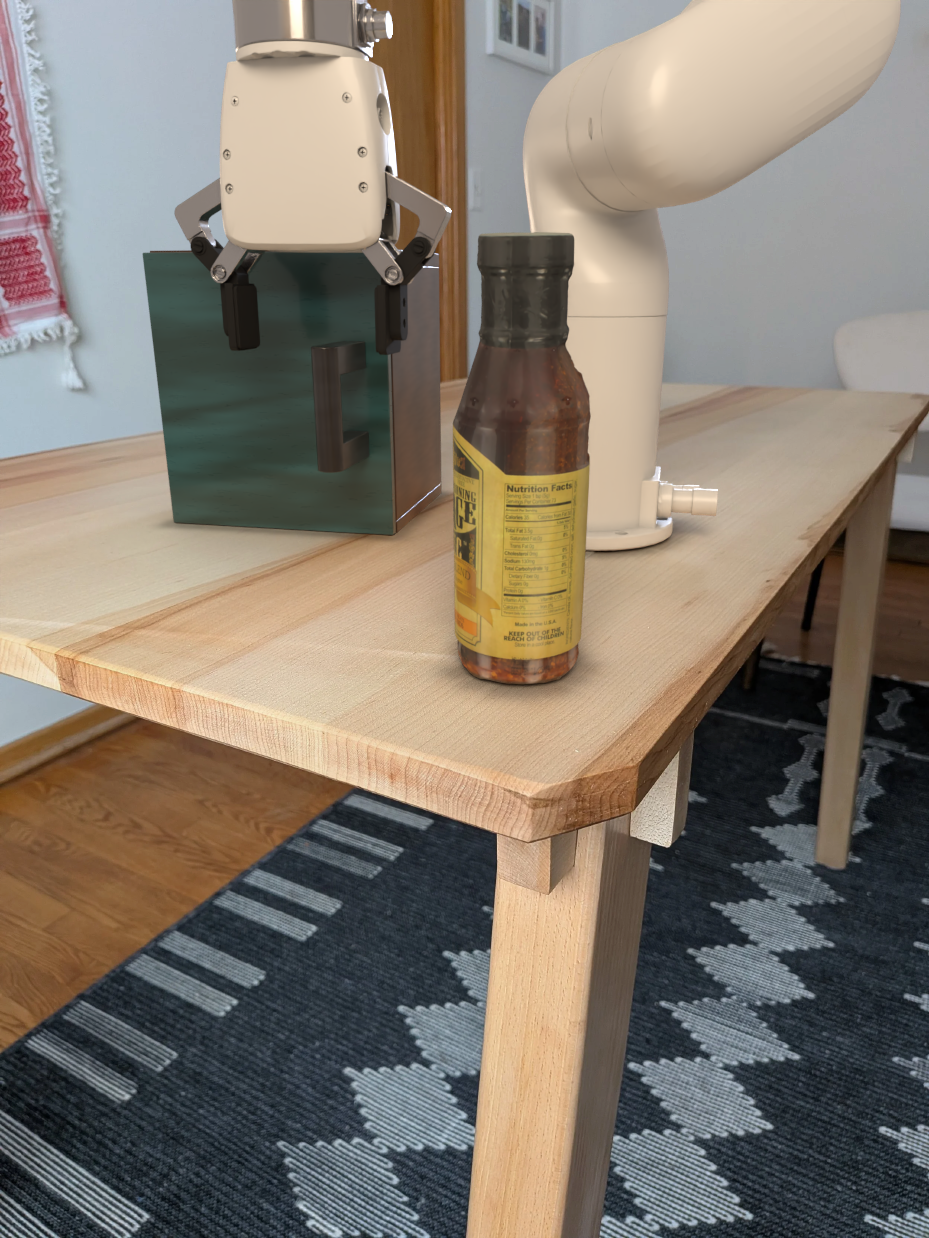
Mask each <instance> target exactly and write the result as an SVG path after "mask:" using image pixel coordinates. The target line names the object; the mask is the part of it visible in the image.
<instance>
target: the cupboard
mask: <svg viewBox="0 0 929 1238" xmlns="http://www.w3.org/2000/svg"><path fill="white" fill-rule="evenodd" d="M398 250H399V252H400V253H401V252H402V251H403V250H404V249H398ZM158 252H192V251H191V249H190V250H185V249H183V250H149V253H158ZM265 252H274V251H268V250H266V251H265ZM407 292H408V335H407V339H406V340H404V341H401V350H400V352H398V353H394V354H391V380H392V415H393V450H394V484H395V519H396V533H398V532H400V531H401V530H402V529H403V528H404V527H405V526H406V525H408V524H409V523H410V522H411V521H412V520H413V519H414V518H415V517H416V516H418V515H419V514H420V513H421V512H423V510H424V509H425V508H427V507H428V506H429V505H430V504H431V503H432V502H434V500H435V499H436V498H438V497H439V496H440V495H441V494H442V427H441V426H442V425H441V424H442V421H441V420H442V419H441V416H442V415H441V328H440V327H441V325H440V323H441V322H440V254H439V253H437V252H435V254H434V255H433V257H432V258H431V259H430V260H429V261H428V262H427V263H426V264H425V266H424V267H423V268H422V269H421V270H420V271H419V272H418V273H417V274H416V276H415V277H414V279H413V281H412V283H410V284H409V285H407Z"/></svg>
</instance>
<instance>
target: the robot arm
mask: <svg viewBox="0 0 929 1238" xmlns="http://www.w3.org/2000/svg"><path fill="white" fill-rule="evenodd" d="M901 2H902V1H901V0H690V2H689V3H688V4H687V5H686V6H685V7H684V9H683V10H682V11H680V13H679V14H678V15H676V16H674V17H672V18H670V19H668V20H666V21H664V22H662V23H661V24H659V25H657V26H656V25H655V26H653V27H652V28H650V29H648V30H645V31H643V32H641V33H638V34H636V35H634V36H632V37H630V38H628V39H625V40H622V41H618V42H615V43H613V44H611V45H607V46H606V47H603V48H601V49H599V50H597V51H595V52H592V53H590V54H588V55H585V56H584V57H581V58H578V59H577V60H575V61H573V62H572V63H570V64H568V65H566V67H563V68H562V69H561V70H560V71H559V72H557V74H555V75H554V76H553V77H552V78H551V79H550V80H548V82H547V83H546V84H545V86H544V87H543V88H542V90H541V91H540V93H539V94H538V96H536V99H535V101H534V103H533V104H532V106H531V109H530V111H529V114H528V117H527V120H526V124H525V129H524V134H523V139H522V173H523V181H524V189H525V190H524V191H525V197H526V204H527V211H528V221H529V231H530V232H529V233H535V232H552V233H570V234H572V235H573V236H574V267H573V271H572V275H571V277H570V279H569V282H568V283H569V287H568V313H567V325H568V327H569V334H568V339H567V341H566V348H567V350H568V352H569V354H570V356H571V359H572V360H573V363H574V367H575V368H576V369H577V370H578V371H579V372H580V373H581V374H582V376H583V380H584V383H585V385H586V388H587V390H588V393H589V396H590V397H589V401H590V414H591V418H590V423H589V433H588V436H589V440H588V453H589V456H590V472H589V493H588V512H587V532H586V551H594V552H595V551H598V552H599V551H600V552H601V551H621V550H632V549H640V548H645V547H649V546H653V545H657V544H659V543H661V542H664V541H665V540H667V539H668V538H670V537H671V535H672V534H673V528H674V519H673V517H672V513H676V514H677V513H678V514H690V516H708V517H716V516H717V511H718V503H719V502H718V501H719V489H717V488H701V485H698V484H697V485H696V484H695V485H694V484H683V485H678V484H674V483H670V482H669V480H661V469H662V468H661V466H657V457H658V443H659V433H660V432H659V429H660V417H661V404H662V389H663V377H664V376H663V374H664V363H665V362H664V359H665V349H666V335H667V334H666V333H667V320H668V312H669V311H668V310H669V297H670V271H669V257H668V251H667V247H666V241H665V236H664V232H663V228H662V224H661V219H660V215H659V209H663V208H670V207H677V206H682V205H688V204H692V203H696V202H700V201H703V200H705V199H708V198H710V197H713V196H715V195H718V194H719V193H721V192H723V191H725V190H726V189H729V188H730V187H732V186H734V185H735V184H738V183H739V182H741V181H743V180H744V179H746V178H747V177H748V176H750V175H752V174H753V173H755V172H756V171H759V170H760V169H761V168H763V167H764V166H766V165H767V164H769V163H771V162H772V161H773V160H775V159H776V158H779V157H780V156H782V155H783V154H784V153H786V152H787V151H789V150H790V149H792V148H793V147H796V145H798V144H800V143H801V142H803V141H804V140H806V139H807V138H808V137H810V136H812V135H813V134H814V133H816V132H818V131H819V130H821V129H822V128H823V127H825V126H827V125H828V124H830V123H832V122H833V121H834V120H836V119H838V117H840V116H841V115H843V114H845V113H846V112H847V111H848V110H850V109H851V108H852V107H853V106H855V105H856V104H857V103H858V102H859V101H860V100H861V99H862V98H863V97H864V96H866V94H867V92H868V91H869V90H870V89H871V87H872V86H873V85H874V84H875V83H876V81H877V79H878V78H879V76H880V75H881V74H882V72H883V70H884V68H885V66H886V64H887V62H888V60H889V59H890V57H891V53H892V52H893V48H894V46H895V43H896V40H897V36H898V33H899V27H900V22H901V21H900V20H901V11H902V9H901V7H902V4H901ZM231 3H232V17H233V33H234V47H235V48H234V49H235V60H234V61H228V62H227V63H226V67H225V75H224V80H223V81H224V82H223V88H222V89H223V90H222V100H221V112H220V124H219V125H220V126H219V128H220V129H219V177H218V178H217V179H215V180H214V181H212V182H211V183H209V184H208V185H206V186H205V187H203V188H202V189H200V190H199V191H197V192H196V193H194V194H193V195H192V196H190V197H188V198H186V199H185V200H184V201H182V202H181V203H180V204H178V205H177V206H176V207H175V208H174V218H175V220H176V221H177V224H178V225H179V227H180V229H181V231H182V233H183V234H184V237H185V239H186V240H187V241H188V242H189V244H190V250H191V251H192V253H193V254H194V255H195V256H196V257H197V258H198V259H199V260H200V262H201V263H202V264H203V265H204V266H205V267H206V268H207V269H208V270H209V271H210V272H211V276H212V278H213V280H214V281H215V282H217V283H220V290H221V303H222V316H223V328H224V332H225V334H226V335H227V336H228V337H229V347H230V349H231V350H232V351H242V350H249V349H255V348H257V347H259V346H260V332H259V317H258V301H257V289H256V286H254V284H249V277H248V276H249V275H250V273H251V272H252V270H253V269H254V267H255V266H256V264H257V263H258V261H259V260H260V258H261V257H262V255H263V254H264V252H265V251H266V250H268V251H274V252H305V253H364V255H365V256H366V257H367V258H368V260H369V261H370V262H371V264H372V265H373V266H374V268H375V269H376V270H377V271H378V273H379V274H380V275H381V285H377V287H375V291H374V295H375V340H376V352H379V354H380V355H390V354H394V353H398V352H400V350H401V341H404V340H406V339H407V335H408V292H407V285H409V284H410V283H412V281H413V279H414V277H415V276H416V274H417V273H418V272H419V271H420V270H421V269H422V268H423V267H424V266H425V264H426V263H427V262H428V261H429V260H430V259H431V258H432V257H433V255H434V254H435V253H436V251H437V247H438V244H439V242H440V241H441V239H442V237H443V234H444V232H445V230H446V228H447V226H448V224H449V222H450V220H451V217H452V210H451V208H450V207H449V206H448V205H447V204H445V203H443V202H442V201H440V200H438V199H436V198H435V197H433V196H431V195H430V194H428V193H426V192H425V191H423V190H422V189H419V188H417V187H416V186H414V185H412V184H411V183H410V182H407V181H406V180H404V179H402V178H401V177H399V176H398V166H397V165H398V163H397V155H396V145H395V135H394V134H395V133H394V128H393V119H392V111H391V105H390V99H389V91H388V87H387V86H388V85H387V82H386V77H385V73H384V69H383V67H381V65H378V64H376V63H374V62H372V61H371V60H369V58H373V48H374V43H379V41H380V40H391V38H392V35H393V21H392V20H393V19H392V15H391V13H390V10H377V8H372V6H371V4H370V3H369V2H368V0H232V1H231ZM400 206H402V207H403V208H404V209H406V210H408V211H410V212H412V213H413V214H415V215H416V216H417V217H418V221H419V224H418V226H417V229H416V233H415V235H414V237H413V238H412V239H411V240H410V241H409V242H408V244H407V245H406V246H405V247H404V248H403V249H402V250H403V251H402V252H401V253H400V252H399V250H400V249H398V248H397V247H396V244H397V243H398V241H399V238H400V232H401V231H400V230H401V207H400ZM220 211H221V217H222V225H223V231H224V234H225V236H226V238H227V242H226V244H225V245H224V246H223V245H222V244H221V243H220V242H219V241H218V240H217V239H216V238H214V236H213V233H212V230H211V227H210V225H209V221H210V219H211V218H212V216H214V215H216V214H217V213H218V212H220Z"/></svg>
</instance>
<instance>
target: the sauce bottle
mask: <svg viewBox="0 0 929 1238" xmlns="http://www.w3.org/2000/svg"><path fill="white" fill-rule="evenodd" d="M476 266H477V269H478V271H479V273H480V278H481V279H480V280H481V283H480V288H481V290H480V291H481V293H480V296H481V305H480V306H481V307H480V308H481V310H480V314H481V315H480V328H479V330H478V337H479V342H478V345H477V349H476V352H475V355H474V358H473V362H472V364H471V368H470V371H469V374H468V376H467V379H466V383H465V386H464V389H463V392H462V395H461V397H460V398H461V399H460V400H459V401H460V402H459V405H458V407H457V410H456V413H455V416H454V418H453V421H452V476H453V477H452V480H453V481H452V484H453V485H452V486H453V487H452V495H453V496H452V517H453V578H454V579H453V588H454V589H453V592H454V593H453V595H454V596H453V597H454V600H453V602H454V603H453V604H454V605H453V606H454V612H453V613H454V635H455V638H456V639H457V653H458V656H459V660H460V662H461V664H462V666H463V667H464V668H466V671H467V672H468V673H469V674H471V676H473V677H475V678H476V679H480V680H487V681H492V682H496V683H502V684H507V685H509V684H511V685H533V684H545V683H549V682H553V681H558V680H561V678H562V677H564V676H565V675H567V673H569V672H570V671H571V670H572V669H573V667H574V666H575V664H576V663H577V660H578V657H579V654H580V649H579V643H580V641H581V638H582V627H583V626H582V625H583V608H584V591H585V590H584V587H585V571H586V570H585V569H586V551H587V550H586V532H587V512H588V493H589V472H590V456H589V453H588V440H589V436H588V433H589V423H590V418H591V414H590V401H589V397H590V396H589V393H588V390H587V388H586V385H585V383H584V380H583V376H582V374H581V373H580V372H579V371H578V370H577V369H576V368H575V367H574V363H573V360H572V359H571V356H570V354H569V352H568V350H567V348H566V341H567V339H568V334H569V327H568V325H567V313H568V287H569V283H568V282H569V279H570V277H571V275H572V271H573V267H574V236H573V235H572V234H570V233H552V232H535V233H531V232H489V233H480V234H479V235H478V238H477V256H476Z"/></svg>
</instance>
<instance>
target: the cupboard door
mask: <svg viewBox="0 0 929 1238" xmlns="http://www.w3.org/2000/svg"><path fill="white" fill-rule="evenodd" d="M142 261H143V269H144V270H143V271H144V278H145V289H146V296H147V303H148V304H147V305H148V312H149V313H148V314H149V321H150V329H151V339H152V346H153V348H152V349H153V355H154V364H155V372H156V373H155V374H156V382H157V391H158V399H159V407H160V414H161V415H160V416H161V425H162V434H163V442H164V450H165V459H166V468H167V476H168V485H169V493H170V503H171V509H172V511H171V512H172V521H173V523H177V524H194V525H211V526H228V527H245V528H246V527H247V528H260V529H261V528H262V529H263V528H264V529H279V530H280V529H281V530H295V531H296V530H297V531H312V532H313V531H315V532H333V533H349V534H350V533H351V534H368V535H384V536H385V535H386V536H393V535H395V534H396V533H397V532H396V519H395V484H394V450H393V415H392V380H391V354H390V355H380V354H379V352H376V340H375V295H374V291H375V287H377V285H381V275H380V274H379V273H378V271H377V270H376V269H375V268H374V266H373V265H372V264H371V262H370V261H369V260H368V258H367V257H366V256H365V255H364V253H305V252H264V254H263V255H262V257H261V258H260V260H259V261H258V263H257V264H256V266H255V267H254V269H253V270H252V272H251V273H250V275H249V276H248V277H249V284H254V286H256V289H257V301H258V317H259V332H260V346H259V347H257V348H255V349H249V350H242V351H232V350H231V349H230V347H229V337H228V336H227V335H226V334H225V332H224V328H223V316H222V303H221V290H220V283H217V282H215V281H214V280H213V278H212V276H211V272H210V271H209V270H208V269H207V268H206V267H205V266H204V265H203V264H202V263H201V262H200V260H199V259H198V258H197V257H196V256H195V255H194V254H193V253H192V252H158V253H150V252H142Z"/></svg>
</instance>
